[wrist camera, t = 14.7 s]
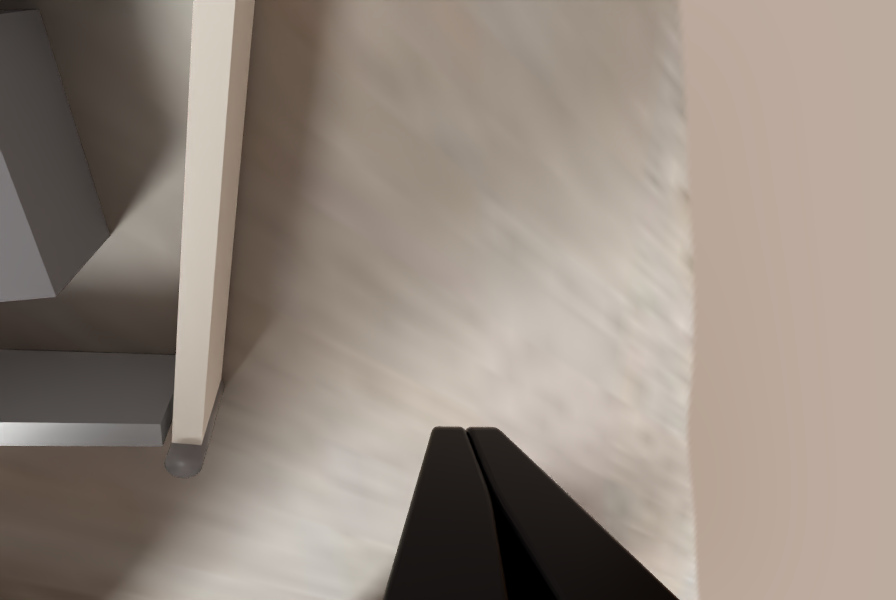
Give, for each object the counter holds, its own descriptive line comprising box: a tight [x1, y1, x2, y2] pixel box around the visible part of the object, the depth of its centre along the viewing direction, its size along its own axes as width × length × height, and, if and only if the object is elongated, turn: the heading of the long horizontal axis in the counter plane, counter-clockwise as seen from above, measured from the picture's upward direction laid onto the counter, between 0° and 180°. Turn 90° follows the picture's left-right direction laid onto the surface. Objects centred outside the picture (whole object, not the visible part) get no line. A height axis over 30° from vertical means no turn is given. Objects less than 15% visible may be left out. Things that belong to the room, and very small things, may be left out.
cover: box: [164, 0, 255, 478], centre depth 16 cm, size 14×1×4 cm, turn 166°
